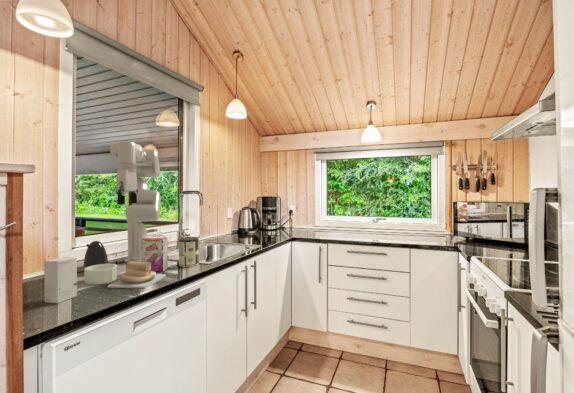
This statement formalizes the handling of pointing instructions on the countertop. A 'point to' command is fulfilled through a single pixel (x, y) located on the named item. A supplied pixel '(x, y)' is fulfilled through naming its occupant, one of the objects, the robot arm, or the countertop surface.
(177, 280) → the countertop surface
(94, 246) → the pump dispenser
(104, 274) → the bowl
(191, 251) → the coffee can
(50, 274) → the skincare box
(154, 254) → the candy bar box
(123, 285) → the mat
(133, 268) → the lid
